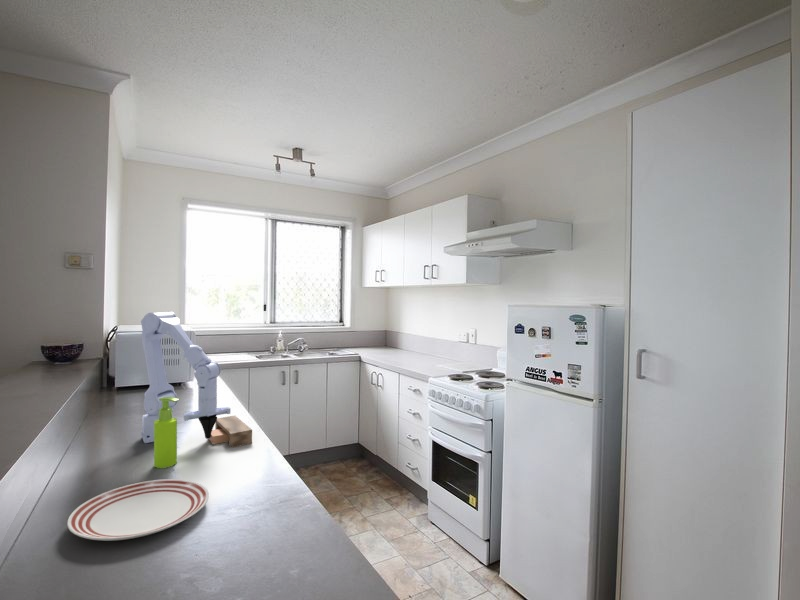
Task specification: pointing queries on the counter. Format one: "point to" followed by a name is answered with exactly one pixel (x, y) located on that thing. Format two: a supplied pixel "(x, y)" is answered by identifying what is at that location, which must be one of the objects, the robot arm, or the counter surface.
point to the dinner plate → (137, 509)
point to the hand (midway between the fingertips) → (207, 437)
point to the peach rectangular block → (218, 436)
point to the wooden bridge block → (235, 430)
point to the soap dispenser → (165, 436)
